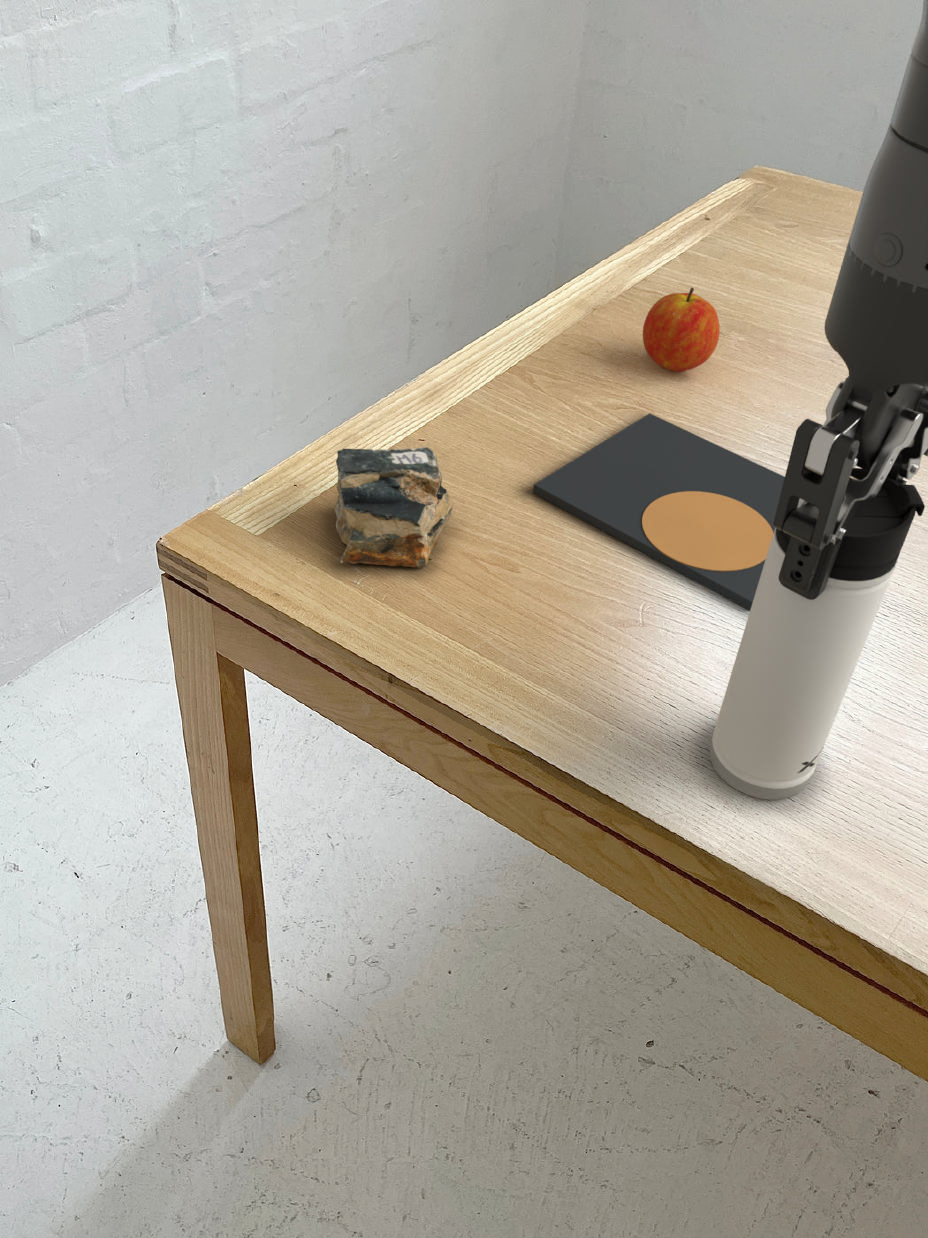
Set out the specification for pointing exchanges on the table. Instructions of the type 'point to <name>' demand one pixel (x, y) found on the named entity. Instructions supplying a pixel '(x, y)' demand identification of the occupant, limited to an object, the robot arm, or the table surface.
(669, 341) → the fruit
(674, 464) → the mat
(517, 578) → the table surface
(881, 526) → the travel mug
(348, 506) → the rock
